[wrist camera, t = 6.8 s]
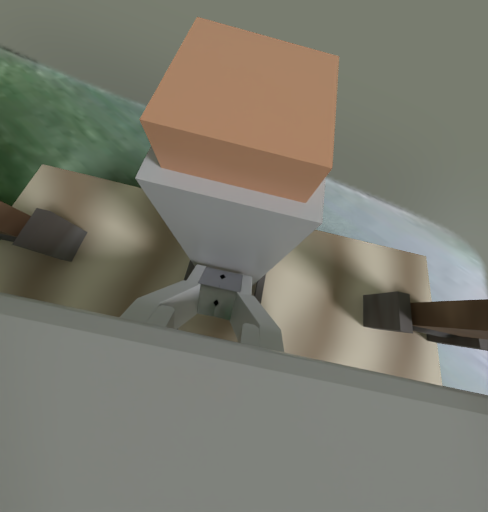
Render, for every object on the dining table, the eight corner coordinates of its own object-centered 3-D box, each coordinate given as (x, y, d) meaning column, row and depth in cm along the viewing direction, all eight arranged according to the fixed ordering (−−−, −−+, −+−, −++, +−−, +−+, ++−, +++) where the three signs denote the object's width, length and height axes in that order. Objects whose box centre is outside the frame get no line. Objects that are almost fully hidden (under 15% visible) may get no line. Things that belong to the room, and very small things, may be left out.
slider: (252, 285, 13) (355, 193, 3) (200, 274, 13) (102, 130, 3) (261, 238, 14) (356, 51, 4) (213, 226, 14) (184, 2, 4)
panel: (-51, 343, 12) (-213, 363, 7) (59, 178, 16) (-2, 128, 12) (424, 438, 13) (525, 502, 9) (408, 261, 17) (469, 244, 13)
